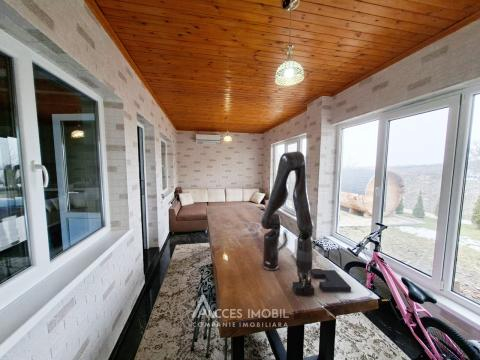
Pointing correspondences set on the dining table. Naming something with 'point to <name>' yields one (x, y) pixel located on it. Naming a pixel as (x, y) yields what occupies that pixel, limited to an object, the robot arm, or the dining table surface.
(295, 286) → the black pad
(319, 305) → the dining table surface
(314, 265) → the newspaper
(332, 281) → the notched mat
